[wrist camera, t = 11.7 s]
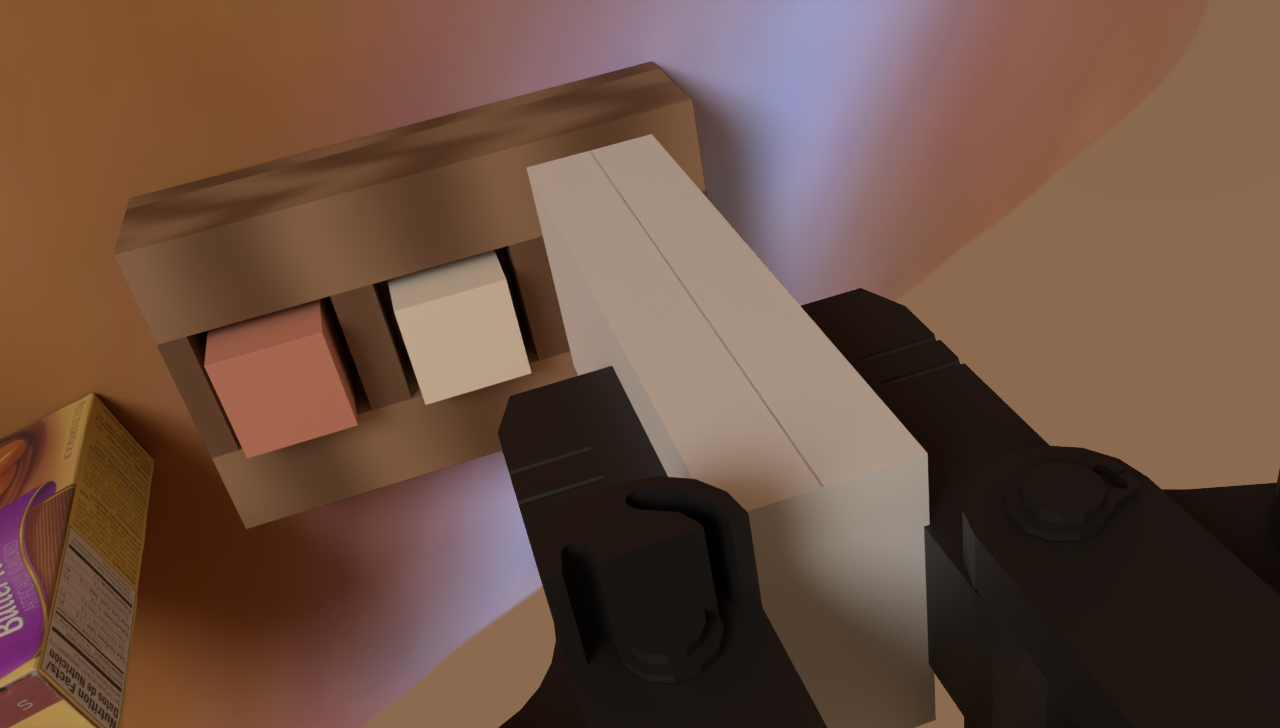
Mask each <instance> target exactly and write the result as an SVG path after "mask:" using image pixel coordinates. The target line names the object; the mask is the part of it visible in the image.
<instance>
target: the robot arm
mask: <svg viewBox="0 0 1280 728" xmlns="http://www.w3.org/2000/svg"><path fill="white" fill-rule="evenodd" d="M527 172H528V176H529V180H530V184H531V189H532V193H533V197H534V201H535V205H536V210H537V214H538V218H539V222H540V226H541V230H542V235H543V239H544V243H545V247H546V251H547V256H548V260H549V264H550V268H551V272H552V276H553V281H554V285H555V289H556V293H557V297H558V302H559V306H560V310H561V314H562V318H563V323H564V327H565V331H566V335H567V339H568V343H569V348H570V352H571V356H572V360H573V364H574V367H575V369H576V372H577V374H578V376H576V377H572V378H569V379H565V380H562V381H559V382H555V383H552V384H549V385H545V386H542V387H539V388H535V389H532V390H528V391H525V392H522V393H518V394H515V395H512V396H510V397H509V400H508V403H507V406H506V409H505V412H504V415H503V418H502V421H501V424H500V427H499V430H498V437H499V440H500V443H501V447H502V450H503V454H504V457H505V460H506V464H507V467H508V470H509V474H510V477H511V481H512V484H513V487H514V491H515V494H516V497H517V501H518V504H519V508H520V511H521V514H522V518H523V521H524V524H525V528H526V531H527V535H528V538H529V541H530V545H531V548H532V551H533V555H534V558H535V561H536V565H537V568H538V571H539V575H540V578H541V581H542V585H543V588H544V591H545V595H546V598H547V601H548V604H549V608H550V611H551V615H552V618H553V621H554V626H555V635H556V643H555V648H554V654H553V659H552V663H551V665H550V667H549V669H548V671H547V674H546V675H545V677H544V679H543V681H542V683H541V685H540V687H539V688H538V690H537V691H536V692H535V693H534V695H533V696H532V697H531V698H530V699H529V700H528V702H527V703H526V704H525V705H524V707H523V708H522V709H521V710H520V711H519V712H517V713H516V714H515V715H514V716H512V717H511V718H510V719H509V720H508V721H506V722H505V723H504V724H503V725H501V726H500V727H499V728H914V727H917V726H920V725H922V724H925V723H928V722H931V721H934V720H936V717H935V687H934V685H935V684H934V673H935V674H936V676H937V677H938V679H939V680H940V681H941V683H942V685H943V686H944V688H945V689H946V691H947V692H948V693H949V695H950V696H951V698H952V699H953V701H954V702H955V704H956V705H957V707H958V708H959V710H960V711H961V713H962V714H963V716H964V728H1280V470H1279V476H1278V481H1277V483H1268V484H1255V485H1242V486H1229V487H1216V488H1202V489H1189V490H1161V489H1160V488H1159V487H1158V486H1157V485H1156V484H1155V483H1154V482H1153V481H1151V480H1150V479H1149V478H1148V477H1147V476H1145V475H1143V474H1142V473H1140V472H1139V471H1137V470H1135V469H1134V468H1132V467H1131V466H1129V465H1128V464H1126V463H1124V462H1123V461H1121V460H1120V459H1118V458H1114V457H1111V456H1108V455H1104V454H1101V453H1098V452H1095V451H1091V450H1088V449H1085V448H1076V447H1060V446H1050V445H1049V444H1047V443H1046V442H1045V441H1044V440H1043V439H1042V438H1041V437H1040V436H1039V435H1038V434H1037V433H1036V432H1035V431H1034V430H1033V429H1032V428H1031V427H1030V426H1029V425H1028V424H1027V423H1026V422H1025V421H1023V420H1022V418H1021V417H1020V416H1018V415H1017V414H1016V413H1015V412H1014V411H1013V410H1012V409H1011V408H1010V407H1009V406H1008V405H1007V404H1006V403H1005V402H1004V401H1003V400H1002V399H1001V398H1000V397H999V396H998V395H997V394H996V393H995V392H994V391H992V389H991V388H989V387H988V386H987V385H986V384H985V383H984V382H983V381H982V380H981V379H980V378H979V377H978V376H977V375H976V374H975V373H974V372H973V371H972V370H971V369H970V368H969V367H968V366H967V365H966V364H960V362H959V359H958V357H957V356H956V355H955V354H954V353H953V352H952V351H951V350H950V349H949V348H948V347H947V346H946V345H945V344H944V343H943V342H942V341H941V340H938V341H936V339H935V336H934V333H932V332H931V331H930V330H929V329H928V328H927V327H926V326H925V325H924V324H923V323H922V322H921V321H920V320H919V319H918V318H917V317H916V316H915V315H914V314H913V313H912V312H911V311H910V310H909V309H907V307H905V306H903V305H901V304H898V303H896V302H894V301H891V300H889V299H886V298H884V297H881V296H879V295H876V294H874V293H872V292H869V291H867V290H864V289H862V288H859V289H856V290H852V291H849V292H846V293H842V294H839V295H836V296H832V297H829V298H825V299H822V300H819V301H815V302H812V303H809V304H805V305H802V306H800V305H799V304H798V303H797V302H796V300H795V299H794V298H793V297H792V296H791V295H790V293H789V292H788V291H787V290H786V289H785V288H784V287H783V285H782V284H781V283H780V282H779V281H778V280H777V278H776V277H775V276H774V275H773V274H772V273H771V272H770V270H769V269H768V268H767V267H766V266H765V265H764V263H763V262H762V261H761V260H760V259H759V258H758V256H757V255H756V254H755V253H754V252H753V251H752V250H751V248H750V247H749V246H748V245H747V244H746V243H745V241H744V240H743V239H742V238H741V237H740V236H739V234H738V233H737V232H736V231H735V230H734V229H733V228H732V226H731V225H730V224H729V223H728V222H727V221H726V219H725V218H724V217H723V216H722V215H721V214H720V212H719V211H718V210H717V209H716V208H715V207H714V206H713V204H712V203H711V202H710V201H709V200H708V199H707V197H706V196H705V195H704V194H703V193H702V192H701V190H700V189H699V188H698V187H697V186H696V185H695V184H694V182H693V181H692V180H691V179H690V178H689V177H688V175H687V174H686V173H685V172H684V171H683V170H682V168H681V167H680V166H679V165H678V164H677V163H676V162H675V160H674V159H673V158H672V157H671V156H670V155H669V153H668V152H667V151H666V150H665V149H664V148H663V146H662V145H661V144H660V143H659V142H658V141H657V140H656V138H655V137H654V136H653V135H652V134H650V135H646V136H643V137H639V138H635V139H632V140H628V141H624V142H620V143H617V144H613V145H609V146H605V147H602V148H598V149H594V150H590V151H587V152H583V153H579V154H575V155H572V156H568V157H564V158H561V159H557V160H553V161H549V162H546V163H542V164H538V165H534V166H531V167H527Z"/></svg>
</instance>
